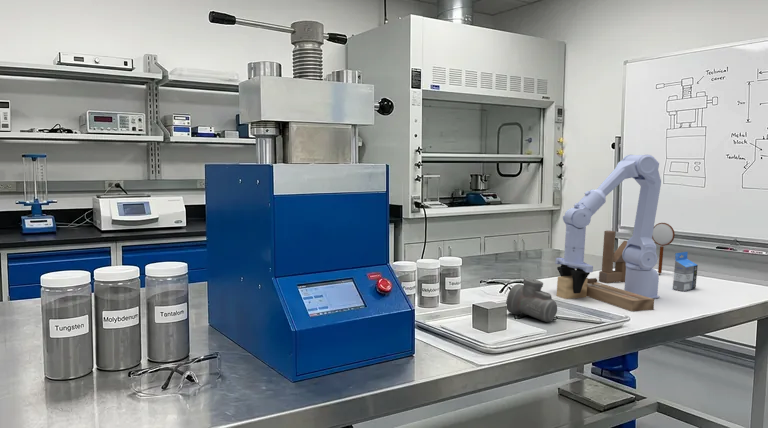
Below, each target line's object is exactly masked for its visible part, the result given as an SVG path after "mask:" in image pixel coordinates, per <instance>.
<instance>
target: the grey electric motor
mask: <svg viewBox="0 0 768 428" xmlns="http://www.w3.org/2000/svg"><path fill="white" fill-rule="evenodd" d="M522 283H523V284H521V283H516V284H514V285H513V286H512V287H511V288H510V289H509V291H508V293H507V297H506V302H505V305H506V304H507V308H506V310H507V312H508V313H510V314H512V315H515V316H516V315H517V316H518V315H521V314H524V315H527V316H529V317H532V318H534V319H537V320H540V321H542V322H545V323H550V322H551V321H553V319H555V317H556V315H557V313H558V305H557V302H556V301H555V300H554V299H552V295H551V293H550V292H546V291H544V290H542V288H543V287H544V282H543V281H541V280H538V279H535V278H530V277H525V278H523V282H522Z"/></svg>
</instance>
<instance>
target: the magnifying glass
mask: <svg viewBox="0 0 768 428" xmlns="http://www.w3.org/2000/svg"><path fill="white" fill-rule="evenodd" d="M675 235H676V234H675V230H674V228H673V227H672V226H671V225H670V224H669V223H667V222H659V223H657V224H654V229H653V235H652V240H653V242H654V243H655V244H657V245H659V257H658V267H657V268H658V270H657V273H658V275H659V274H662V271H663V269H662V268H663V262H664V261H663V259H664V246H665V247H666V246H668V245H670V244H671V243H673V241H674V239H675Z"/></svg>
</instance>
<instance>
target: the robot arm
mask: <svg viewBox="0 0 768 428" xmlns="http://www.w3.org/2000/svg"><path fill="white" fill-rule="evenodd" d="M659 168H660V162H659V161H658V160H657V159H656V158H655V157H654V156H653V155H652V154H627V155H625V156H624V157H623V158H622V159H621V160H620V161H618V162H617V164H616V166H615V168H614V169H613V170H612V171H611V173H610V174H609V175H608V176H607V177H606V178H605V179H604V180H603V181H602V183H600V185H599V186H598V187H597V188H596V189H593V188H592V189H590V190H586V191H585V192H584V196H583V197H582V198H581V199H580V200H579V201H578V202H575V203H574V205H573V206H574V207H570V208H568V209H567V210H566V211H565V213H564V215H563V216H562V221H563V223H564V224H565V237H564V238H565V240H564V252H563V253H564V255H563V257H555V265H560V266H557V268H556V269H557V271H558V273H559V276H572V278H573V292H574V293H580V292H581V289H582V286H583V284H584V281H585V280H586V278H588V277H589V275H591V274H590V273H593V271H594V266H593V265H591V264H589V263H587V262H585V261H584V260H585V250H586V249H585V246H586V235H587V234H586V230H587V228H586V227H587V226H589V225H590V224H591V220H592V217H593V215H595V214H596V213H597V211H599V209H601V208H602V206H603V205H604V204H606V199H607V198H606V197H607V196H608V195H609V194H610V193H611V192H612V191H614V190H615V189H616V188H617V187H618V186H619V185H620V184H622V182H623V181H625V180H628V179H634V180H635V181H636V183H637V184H638V185H639V187H640V189H639V195H638V201H637V207H636V214H635V218H634V226H633V232H632V236H631V237H630V238H628V240H626V241H627V245H626V247H625V249H624V250H623V253H622V257H623V260H624V261H625V262H626V275H625V282H624V288H623V290H625V291H628V292H632V293H635V294H639V295H642V296H645V297H649V298H652V299H657V298H658V299H659V298H660V296H659V295H658V294H659V292H658V291H659V280H660V279H659V278H660V277H659V276H660V275H659V273H658V270H656V269H654V267H655V266H656V264H657V263H658V255H657V245H656V243H655V242H654V240H653V239H652V235H653V229H654V226H655V222H656V215H657V210H658V203H659V198H660V197H659V196H660V192H661V186H662V179H661V176H660V172H659Z"/></svg>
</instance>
